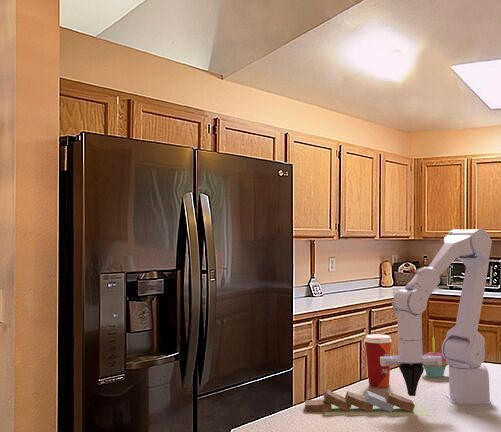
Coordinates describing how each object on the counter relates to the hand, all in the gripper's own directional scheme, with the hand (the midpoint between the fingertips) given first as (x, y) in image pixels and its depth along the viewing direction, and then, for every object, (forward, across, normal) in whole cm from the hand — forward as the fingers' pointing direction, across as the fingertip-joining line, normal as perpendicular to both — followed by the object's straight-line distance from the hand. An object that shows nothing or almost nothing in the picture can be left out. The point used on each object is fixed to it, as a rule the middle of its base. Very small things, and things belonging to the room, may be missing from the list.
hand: (411, 395), depth 148 cm
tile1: (+3, 0, 0) cm, 3 cm away
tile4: (+3, +15, -1) cm, 15 cm away
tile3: (+3, +10, -1) cm, 10 cm away
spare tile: (+3, +5, 0) cm, 6 cm away
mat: (+4, +9, -1) cm, 10 cm away
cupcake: (+4, -15, -36) cm, 39 cm away
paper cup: (+4, +3, -25) cm, 26 cm away
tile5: (+3, +19, -1) cm, 20 cm away
